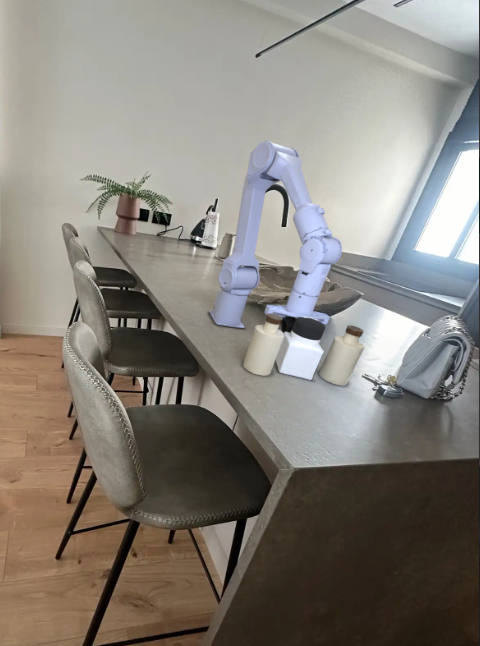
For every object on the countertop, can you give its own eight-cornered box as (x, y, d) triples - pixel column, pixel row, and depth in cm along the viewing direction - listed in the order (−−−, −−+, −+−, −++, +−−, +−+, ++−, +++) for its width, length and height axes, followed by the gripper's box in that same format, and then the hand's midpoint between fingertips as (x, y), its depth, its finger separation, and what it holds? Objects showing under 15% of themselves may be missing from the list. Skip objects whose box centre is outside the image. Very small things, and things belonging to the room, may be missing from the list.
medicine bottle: (312, 380, 79) (333, 330, 74) (278, 373, 80) (298, 322, 74) (305, 365, 85) (324, 318, 80) (274, 358, 86) (291, 310, 81)
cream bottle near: (239, 359, 82) (255, 308, 77) (264, 363, 83) (282, 312, 78) (247, 373, 76) (266, 320, 71) (274, 377, 77) (294, 324, 72)
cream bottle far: (314, 369, 84) (335, 320, 79) (338, 372, 85) (360, 324, 80) (327, 383, 79) (350, 332, 74) (352, 387, 80) (377, 336, 75)
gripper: (281, 293, 77) (261, 350, 82) (345, 303, 79) (321, 358, 84) (269, 283, 83) (251, 337, 89) (328, 292, 85) (307, 345, 91)
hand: (284, 347), depth 87 cm, fingers closed
